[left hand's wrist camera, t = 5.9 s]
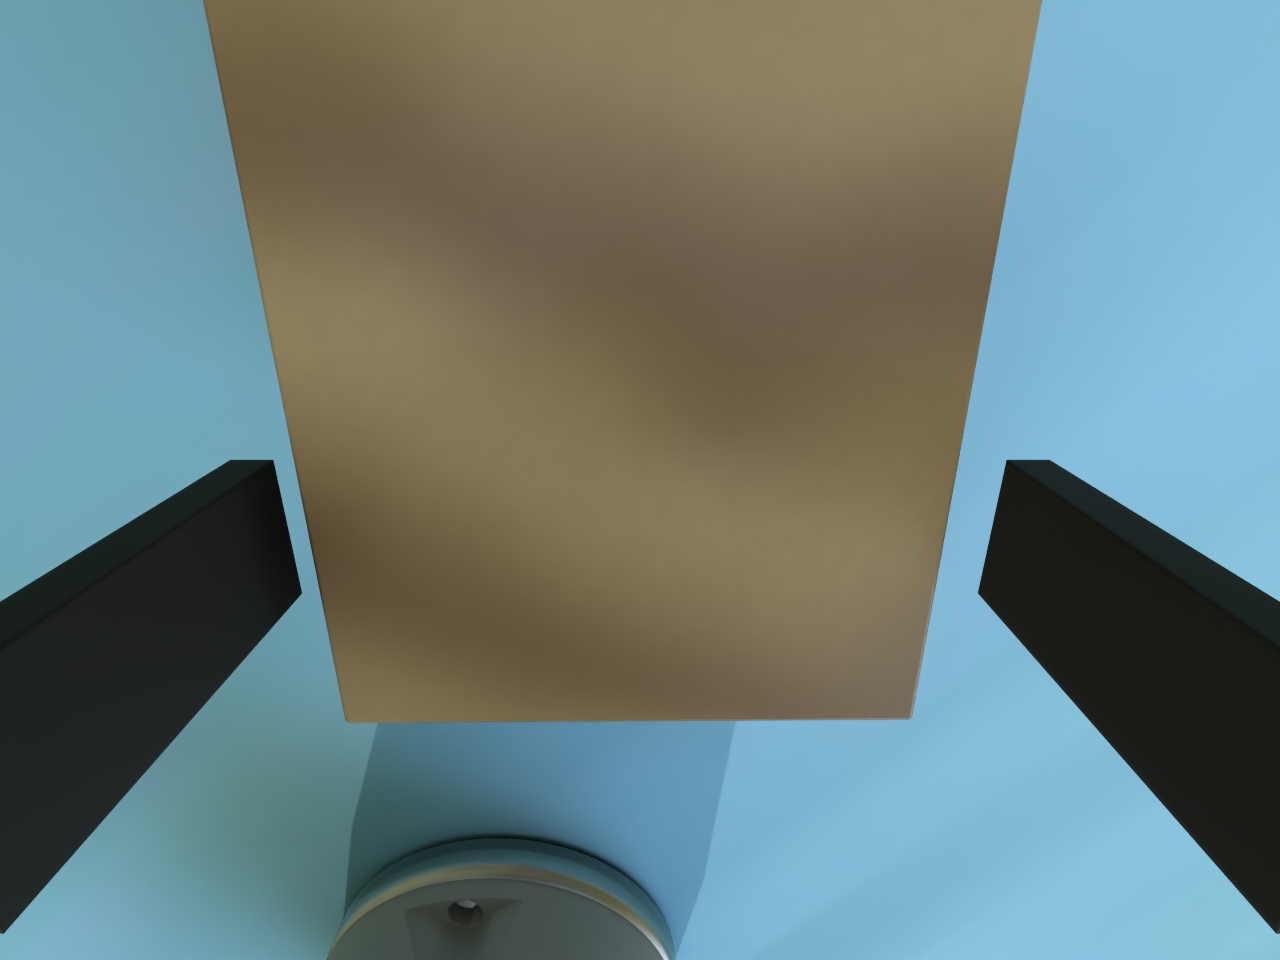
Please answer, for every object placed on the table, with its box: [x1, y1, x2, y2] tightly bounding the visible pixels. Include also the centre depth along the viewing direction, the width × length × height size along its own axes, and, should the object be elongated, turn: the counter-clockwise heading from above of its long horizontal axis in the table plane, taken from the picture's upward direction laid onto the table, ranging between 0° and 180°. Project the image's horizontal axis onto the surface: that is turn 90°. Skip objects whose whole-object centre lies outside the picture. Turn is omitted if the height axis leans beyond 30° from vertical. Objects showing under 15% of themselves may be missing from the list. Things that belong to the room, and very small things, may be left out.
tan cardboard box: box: [203, 0, 1042, 723], centre depth 14 cm, size 18×10×11 cm, turn 0°
